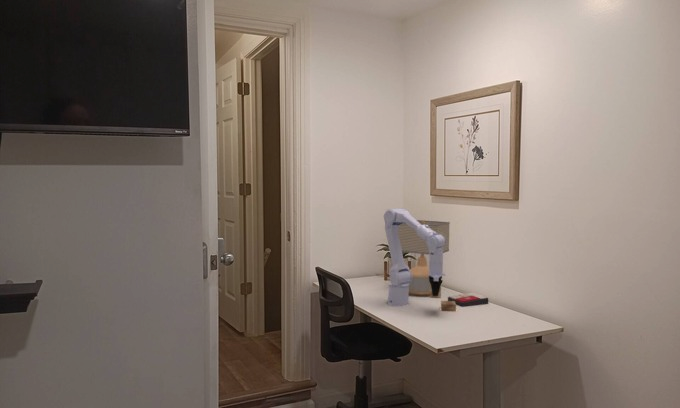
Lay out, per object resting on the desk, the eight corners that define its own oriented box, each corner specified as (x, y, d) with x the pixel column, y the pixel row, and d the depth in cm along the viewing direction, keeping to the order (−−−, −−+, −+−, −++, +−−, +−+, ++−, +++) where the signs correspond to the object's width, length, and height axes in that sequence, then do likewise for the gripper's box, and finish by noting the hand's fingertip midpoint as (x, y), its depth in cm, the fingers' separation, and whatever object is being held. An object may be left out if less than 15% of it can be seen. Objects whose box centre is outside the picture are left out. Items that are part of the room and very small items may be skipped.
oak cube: (429, 297, 219) (430, 287, 219) (429, 295, 224) (429, 285, 223) (440, 298, 219) (441, 287, 218) (440, 295, 223) (440, 285, 223)
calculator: (447, 295, 241) (473, 291, 247) (447, 304, 241) (473, 299, 247) (461, 301, 231) (488, 296, 237) (461, 310, 231) (488, 305, 237)
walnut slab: (441, 310, 224) (441, 304, 224) (440, 307, 230) (441, 300, 230) (455, 311, 224) (455, 304, 223) (454, 307, 229) (454, 301, 229)
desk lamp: (449, 292, 261) (450, 220, 259) (434, 300, 245) (436, 223, 243) (409, 286, 273) (411, 217, 270) (393, 293, 257) (394, 220, 254)
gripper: (446, 266, 212) (445, 299, 213) (444, 260, 227) (443, 290, 228) (428, 265, 214) (428, 298, 214) (428, 259, 228) (427, 290, 229)
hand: (435, 294), depth 221 cm, fingers closed on oak cube, 4 cm apart
